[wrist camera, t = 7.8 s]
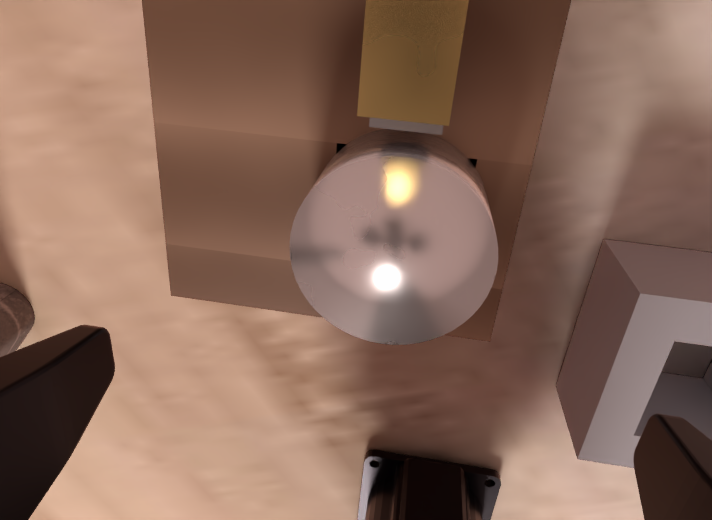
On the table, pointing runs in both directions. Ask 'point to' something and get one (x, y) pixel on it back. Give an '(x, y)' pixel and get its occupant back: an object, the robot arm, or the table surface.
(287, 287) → the hitch block
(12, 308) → the flask
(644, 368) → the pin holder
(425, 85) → the brass bolt
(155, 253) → the table surface
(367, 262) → the steel pin
